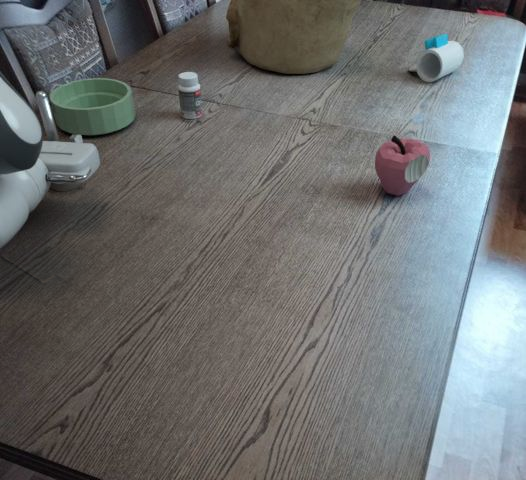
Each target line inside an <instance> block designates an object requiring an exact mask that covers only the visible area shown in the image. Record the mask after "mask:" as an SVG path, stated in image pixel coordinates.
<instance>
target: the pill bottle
mask: <svg viewBox="0 0 526 480" xmlns="http://www.w3.org/2000/svg"><path fill="white" fill-rule="evenodd" d="M177 76H178V83H179V84H178V86H177V90H178V91H177V92H178V99H179V100H178V101H179V109H180V110H179V111H180V116H181V117H182V118H183V119H187V120H197V119H199V118H201V117H202V116H203V105H202V91H201V85H200V83H199V77H198V73H196V72H194V71H185V72H184V71H183V72H181V73H179V74H178V75H177Z"/></svg>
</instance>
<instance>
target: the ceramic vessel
mask: <svg viewBox="0 0 526 480" xmlns="http://www.w3.org/2000/svg"><path fill="white" fill-rule="evenodd" d="M362 1H363V0H230V2H229V5H228V7H227V10H226V15H225V19H226V21H227V23H228V33H229V34H228V37H227V39H226V44H227V47H228V48H229V49H235V48H236V51H237V52H238V53H239V54H240V55H241V56H242V57H243V59H244V60H245V61H246V62H247V63H249V64H250V65H253V66H255V67H257V68H259V69H263V70H267V71H272V72H275V73H280V74H286V75H287V74H288V75H290V74H291V75H292V74H293V75H295V74H296V75H301V74H302V75H305V74H312V73H313V74H314V73H318V72H322V71H325V70H327V69H329V68H331V67H333V66H334V65H335V64H336V63H337V62H338V60H339V58H340V57H341V55H342V52H343V50H344V47H345V44H346V42H347V39H348V37H349V34H350V31H351V25H352V22H353V18H354V16H355V14H356V12H357V10H358V8H359V7H360V4H361V3H362Z"/></svg>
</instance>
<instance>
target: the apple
mask: <svg viewBox="0 0 526 480" xmlns="http://www.w3.org/2000/svg"><path fill="white" fill-rule="evenodd" d="M430 161H431V152H430V148H429V146H428V145H427V144H425V143H423V142H422V141H420V140H419V139H413V138H401V137H397V136H396V135H393V136H391V139H390V141H386V142H383V144H381V146H380V147H378V148H377V150H376V153H375V159H374V170H375V173H376V175H377V177H378V179H379V181H380V185H381V187H382V189H383V190H384V191H385V192H386V193H387V194H388V195H389V194H390V195H394V196H396V197H398V196H402V195H405V194H406V193H408V191H409V190H410V189H411V188H412V187H413V186H414V185H415V184H416V183H418V181H419V180H420V179H421V178H422V177H423V175H424V174H425V173H426V171H427V169H428V167H429V165H430Z"/></svg>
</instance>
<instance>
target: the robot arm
mask: <svg viewBox="0 0 526 480" xmlns="http://www.w3.org/2000/svg"><path fill="white" fill-rule="evenodd" d="M43 130H44V129H43V125H42V123H41V121H40V119H39V117H38V115H37V114H36V112H35V110H34V109H33V107H32V106H31V105H30V104H29V103H28V101H27V100H26V99H25V98H24V97H23V96H22V95H21V94H20V92H19V91H17V89H15V87H14V86H13V84H11V83H10V82H9V80H8V79H7V78H6V76H5V75H4V74H3V73H2V71H1V70H0V249H2V248H4V247H5V245H7V244H8V243H9V242H11V240H12V239H13V238H14V237H15V236H16V235H17V234H18V232H19V231H20V230H21V229H22V227H23V226H24V225H25V224H26V222H27V220H28V218H29V214H30V213H31V212H33V211H34V210H35V209H37V207H38V205H39V204H40V203H41V201H42V200H43V199H44V197H45V196H46V194H47V193H48V192H49V190H50V189H51V187H50V184H51V183H66V184H78V183H81V184H82V183H84V182H86V181H87V180H89V178H90V177H92V176H93V175H94V174H95V172H96V171H97V170H99V167H100V166H101V160H100V154H99V150H98V148H97V147H96V145H95V144H93V143H92V142H91V143H90V142H84V140H83V135H79V134H73V133H71V136H69V141H60V142H55V141H48V140H44V131H43Z"/></svg>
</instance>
